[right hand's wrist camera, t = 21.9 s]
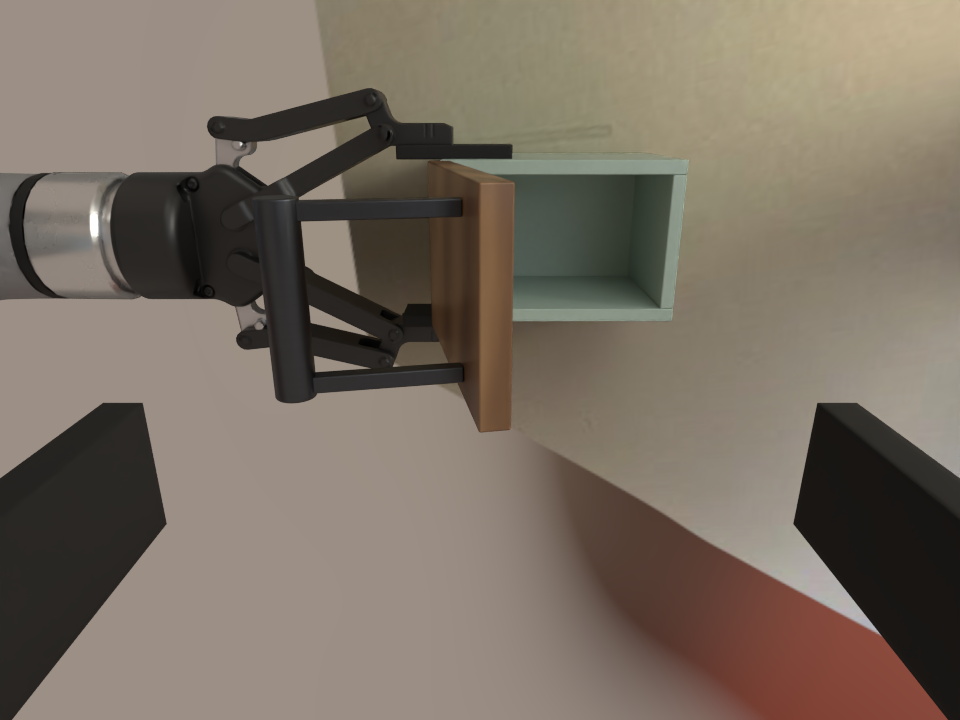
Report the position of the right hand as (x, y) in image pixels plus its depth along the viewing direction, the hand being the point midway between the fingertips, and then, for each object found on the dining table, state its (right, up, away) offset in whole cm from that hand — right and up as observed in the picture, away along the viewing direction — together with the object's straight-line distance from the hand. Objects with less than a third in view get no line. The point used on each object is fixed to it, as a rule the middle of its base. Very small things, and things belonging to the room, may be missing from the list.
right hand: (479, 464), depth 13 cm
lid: (0, +6, +17) cm, 18 cm away
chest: (+5, +12, +33) cm, 35 cm away
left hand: (+2, +10, +26) cm, 28 cm away
